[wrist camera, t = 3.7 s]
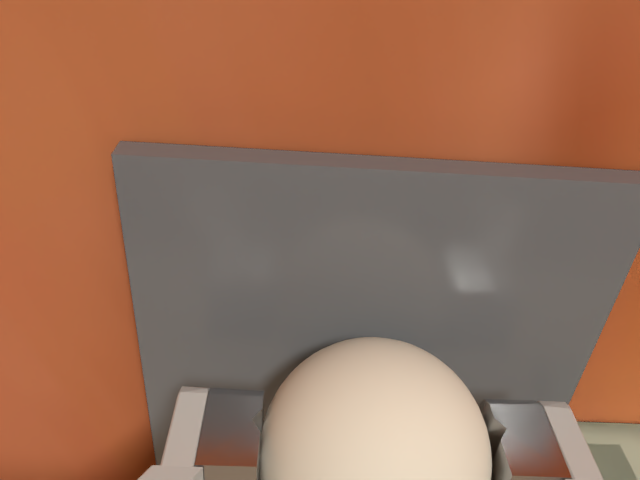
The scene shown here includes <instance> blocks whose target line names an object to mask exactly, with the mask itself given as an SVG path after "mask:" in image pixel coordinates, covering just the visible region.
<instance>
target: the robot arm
mask: <svg viewBox="0 0 640 480" xmlns="http://www.w3.org/2000/svg"><path fill="white" fill-rule="evenodd" d="M264 405H265V393H264V391H256V390H240V389H225V388H205V387H188V386H182V387H181V389H180V391H179V393H178V396H177V400H176V404H175V408H174V412H173V416H172V420H171V424H170V428H169V432H168V436H167V440H166V444H165V448H164V452H163V456H162V460H161V464H160V465H151V466H150V467H149V468H148V469H147V470H146V471H145V472H144V473H143V474H142V475H141V476H140V477H139V478H138V479H137V480H260V471H259V463H260V436H261V432H262V427H263V422H264V420H263V417H264ZM479 409H480V411H481V414H482V416H483V419H484V422H485V424H486V427H487V430H488V435H489V440H490V445H491V453H492V475H491V480H604V479H603V477H602V475H601V473H600V471H599V468H598V466H597V464H596V462H595V460H594V458H593V455H592V453H591V451H590V449H589V447H588V445H587V443H586V440H585V438H584V436H583V434H582V432H581V430H580V427H579V425H578V423H577V421H576V419H575V417H574V415H573V412H572V410H571V408H570V406H569V405H568V404H567V403H566V402H556V401H535V400H505V399H483V400H482V402H481V403H480V405H479Z"/></svg>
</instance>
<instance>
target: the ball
mask: <svg viewBox="0 0 640 480" xmlns="http://www.w3.org/2000/svg"><path fill="white" fill-rule="evenodd" d="M259 471H260V478H261V480H491V475H492V453H491V445H490V440H489V435H488V430H487V427H486V424H485V422H484V419H483V416H482V414H481V411H480V409H479V406H478V404H477V403H476V401H475V399H474V398H473V396H472V394H471V393H470V391H469V390H468V388H467V387H466V385H465V384H464V383H463V382H462V380H461V379H460V378H459V377H458V376H457V375H456V374H455V373H454V371H453V370H451V369H450V368H449V367H448V366H447V365H445V364H444V363H443V362H442V361H441V360H439V359H438V358H437V357H435V356H433V355H432V354H430V353H428V352H427V351H425V350H423V349H421V348H419V347H417V346H414V345H412V344H409V343H406V342H403V341H399V340H394V339H389V338H381V337H361V338H353V339H348V340H344V341H341V342H338V343H335V344H332V345H330V346H328V347H325V348H323V349H321V350H319V351H317V352H316V353H314V354H312V355H311V356H310V357H308V358H307V359H305V360H304V361H303V362H302V363H300V364H299V365H298V366H297V367H296V368H295V369H294V370H293V371H292V372H291V373H290V374H289V375H288V377H287V378H286V379H285V380H284V382H283V383H282V384H281V386H280V387H279V388H278V390H277V392H276V394H275V396H274V398H273V399H272V401H271V403H270V405H269V407H268V410H267V413H266V416H265V419H264V422H263V427H262V432H261V436H260V463H259Z"/></svg>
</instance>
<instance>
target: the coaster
mask: <svg viewBox="0 0 640 480" xmlns="http://www.w3.org/2000/svg"><path fill="white" fill-rule="evenodd" d="M111 156H112V163H113V169H114V176H115V183H116V190H117V197H118V204H119V211H120V218H121V225H122V231H123V238H124V245H125V252H126V259H127V266H128V273H129V280H130V287H131V294H132V300H133V307H134V314H135V321H136V328H137V335H138V342H139V349H140V356H141V362H142V369H143V376H144V383H145V390H146V397H147V404H148V411H149V418H150V425H151V431H152V438H153V445H154V452H155V459H156V465H160V464H161V460H162V456H163V452H164V448H165V444H166V440H167V436H168V432H169V428H170V424H171V420H172V416H173V412H174V408H175V404H176V400H177V396H178V393H179V391H180V389H181V387H182V386H188V387H205V388H225V389H240V390H256V391H264V393H265V405H264V417H263V420H264V419H265V416H266V413H267V410H268V407H269V405H270V403H271V401H272V399H273V398H274V396H275V394H276V392H277V390H278V388H279V387H280V386H281V384H282V383H283V382H284V380H285V379H286V378H287V377H288V375H289V374H290V373H291V372H292V371H293V370H294V369H295V368H296V367H297V366H298V365H299V364H300V363H302V362H303V361H304V360H305V359H307V358H308V357H310V356H311V355H312V354H314V353H316V352H317V351H319V350H321V349H323V348H325V347H328V346H330V345H332V344H335V343H338V342H341V341H344V340H348V339H353V338H361V337H381V338H389V339H394V340H399V341H403V342H406V343H409V344H412V345H414V346H417V347H419V348H421V349H423V350H425V351H427V352H428V353H430V354H432V355H433V356H435V357H437V358H438V359H439V360H441V361H442V362H443V363H444V364H445V365H447V366H448V367H449V368H450V369H451V370H453V371H454V373H455V374H456V375H457V376H458V377H459V378H460V379H461V380H462V382H463V383H464V384H465V385H466V387H467V388H468V390H469V391H470V393H471V394H472V396H473V398H474V399H475V401H476V403H477V404H478V406H479V405H480V403H481V402H482V400H483V399H505V400H535V401H556V402H566V403H567V404H569V402H570V400H571V398H572V396H573V393H574V391H575V389H576V387H577V385H578V382H579V380H580V378H581V376H582V374H583V371H584V369H585V367H586V365H587V362H588V360H589V358H590V356H591V354H592V351H593V349H594V347H595V345H596V343H597V340H598V338H599V336H600V334H601V332H602V329H603V327H604V325H605V323H606V321H607V318H608V316H609V314H610V312H611V310H612V307H613V305H614V303H615V301H616V298H617V296H618V294H619V292H620V290H621V287H622V285H623V283H624V281H625V279H626V276H627V274H628V272H629V270H630V268H631V265H632V263H633V261H634V259H635V257H636V254H637V252H638V250H639V248H640V171H633V170H616V169H599V168H581V167H564V166H546V165H529V164H512V163H494V162H477V161H459V160H442V159H425V158H407V157H390V156H372V155H355V154H338V153H320V152H303V151H285V150H268V149H251V148H233V147H216V146H198V145H181V144H163V143H146V142H129V141H120V142H119V143H118V145H117V146H116V148H115V149H114V151H113V153H112V154H111ZM260 480H261V478H260Z"/></svg>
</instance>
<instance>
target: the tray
mask: <svg viewBox="0 0 640 480" xmlns="http://www.w3.org/2000/svg"><path fill="white" fill-rule="evenodd" d="M577 423H578V425H579V427H580V430H581V432H582V434H583V436H584V438H585V440H586V443H587V445H588V447H589V449H590V451H591V453H592V455H593V458H594V460H595V462H596V464H597V466H598V468H599V471H600V473H601V475H602V477H603V479H604V480H640V424H626V423H600V422H577Z"/></svg>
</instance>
